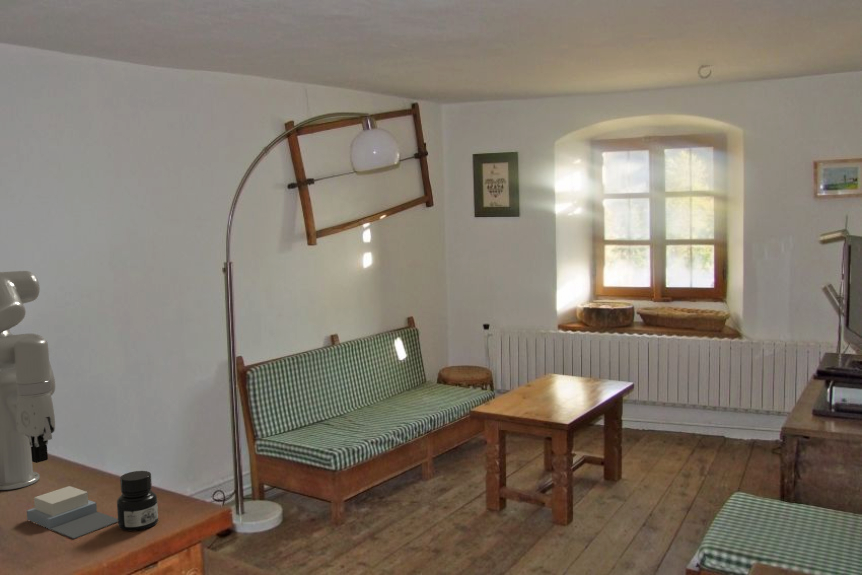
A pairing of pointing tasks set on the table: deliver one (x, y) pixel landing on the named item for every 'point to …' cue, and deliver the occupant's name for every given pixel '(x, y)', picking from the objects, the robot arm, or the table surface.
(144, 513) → the ink bottle
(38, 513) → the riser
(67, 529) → the mat
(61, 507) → the tile
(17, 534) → the table surface
